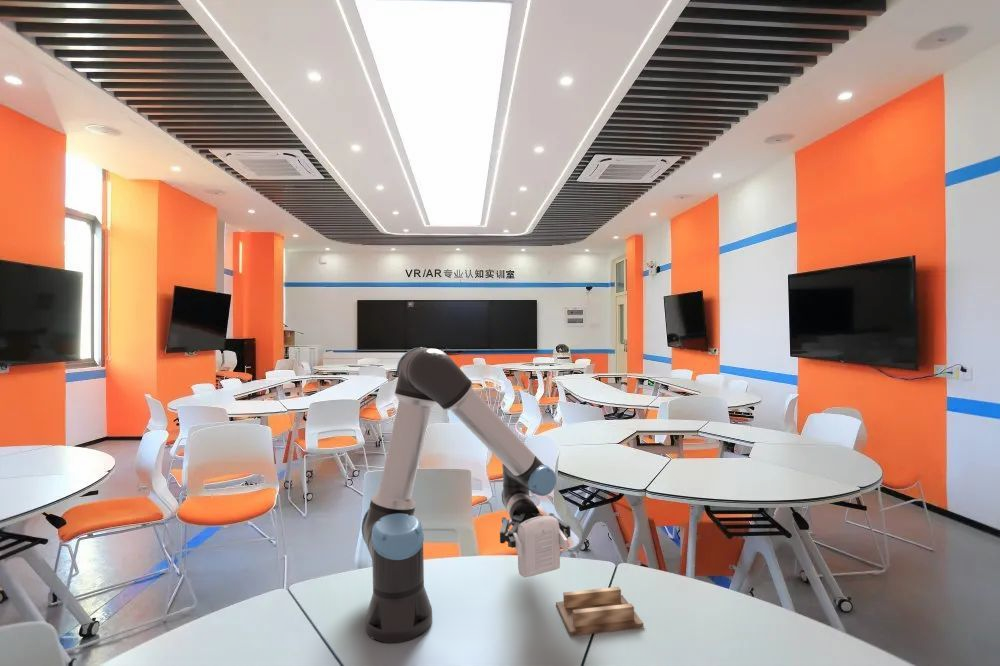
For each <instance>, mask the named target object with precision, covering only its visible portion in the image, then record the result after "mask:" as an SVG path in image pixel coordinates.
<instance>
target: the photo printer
mask: <svg viewBox="0 0 1000 666" xmlns="http://www.w3.org/2000/svg"><path fill="white" fill-rule="evenodd" d="M518 538H519V540H520V542H521V544H522V557H519V556H518V555H517V568H518V574H519V575H520V576H521V577H523V578H529V577H535V576H537V575H541V574H544V573H548V572H549V573H550V572H553V571H556V570H558V569H560V567H561V548H560V547H561V545H560V537H559V523H558V520H557V519H556V518H554V517H552V516H548V515H543V516H537V517H534V518H531V519H528V520H526V521H524V522H522V523H521V524H519V526H518Z"/></svg>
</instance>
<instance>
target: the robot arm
mask: <svg viewBox="0 0 1000 666" xmlns="http://www.w3.org/2000/svg"><path fill="white" fill-rule="evenodd" d="M396 376H397V382H396V387H395V391H394V395H395V397H396V398H397V401H398V405H397V409H396V413H395V417H394V421H393V426H392V431H391V436H390V441H389V445H388V450H387V452H386V453H387V454H386V458H385V463H384V466H383V473H382V476H381V481H380V485H379V490H378V491H377V492H376V494H373V496H371V498H370V503H369V506H368V509H367V510H366V512H365V514H364V515H363V518H362V522H361V535H362V538H363V541H364V543H365V544H366V547H367V550H368V553H369V556H370V557H371V558H370V559H371V563H372V566H371V567H372V595H371V599H370V602H369V605H368V609H367V611H366V612H367V613H366V615H365V630H366V634H367V635H368V634H369V635H370V636H371V637H373V638H374V639H373V638H372V639H373V640H375V639H376V640H375V641H377V640H378V642H380V641H382V643H388V644H389V643H391V644H393V643H394V644H395V643H402V642H406V641H410V640H413V639H416V638H418V637H420V636H421V635H422V634H424V633H425V632H426V631H427V630H428V629H429V628H430V626H431V625H432V622H433V609H432V608H433V607H432V605H431V602H430V599H429V596H428V594H427V593H428V592H427V590H426V588H425V576H424V575H425V573H424V572H425V570H424V566H425V565H424V563H425V562H424V561H425V560H424V540H425V538H424V530H423V524H422V522H421V521H420V520H419V518H417V517H416V516H414V515H415V511H416V505H417V503H416V502H415V500H414V499H413V492H414V488H415V483H416V482H415V481H416V477H417V475H418V474H417V473H418V470H419V463H420V460H421V455H422V451H423V446H424V441H425V437H426V433H427V428H428V427H427V426H428V422H429V419H430V413H431V411H432V410H431V408H432V407H433V406H435V405H436V404H438V405H439V406H440V407H441V408H442V409H443V410H445V411H449V410H450V411H451V413H453V414H454V415H455V417H456V418H457V419H458V420H460V422H462V424H463V425H464V426H465V427H466V428H467V429H469V430H470V432H471V433H472V434H473V435H474V436H475V437H476V438H477V439H478V440H479V441H480V442H481V443H482V444H483V446H485V447H486V448H487V450H489V452H491V453H492V455H493V456H495V457H496V458H497V459H498V461H499V462H501V463H502V490H501V503H502V504H503V506H504V508H505V509H506V512H507V513H508V516H509V518H507V517H504V516H502V517H501V526H500V529H499V543H500V544H505V543H506V542H507V546H508V547H509V548H511V549H512V548H514V549H515V552H516V553H517V554H516V555H517V557H518V556H519V557H522V544H521V542H520V540H519V538H518V526H519V524H521V523H522V522H524V521H526V520H528V519H531V518H534V517H537V516H544V515H543V514H541V512H540V510H539V509H538V507H537V505H536V504H535V502H534V500H533V499H532V498H531V496H530V492H531V493H532V494H534V495H537V496H540V497H545V496H548V495H550V494H551V493H552V492H553V491H554V490H555V488H556V485H557V475H556V473H555V471H554V470H553V469H552V468H551V467H549V466H548V465H546V464H544V463H543V461H541V460H540V459H539V457H537V456H536V455H535V454H534V453H533V452H532V451H531V449H529V447H528V446H527V445H526V444H525V443H524V442H523V441H522V440H521V439H520V438H519V437H518V436H517V434H516V433H515V432H514V431H513V430H512V429H511V428H510V426H508V425H507V424H506V422H504V420H503V419H502V418H501V417H500V416H499V415H498V414H497V413H496V412H495V411H494V410H493V408H491V406H489V405H488V403H486V401H485V400H484V399H483V398H482V397H481V396H480V395H479V394H478V393H477V391H475V389H473V382H472V381H471V379H469V377H468V376H467V375H466V374H465V373H464V372H463V370H462V369H461V368H460V367H459V366H458V364H457V363H456V362H455V361H454V360H453V359H452V358H451V357H450V356H449V355H448V354H447V353H446V352H444V351H442V350H441V349H437V348H427V347H422V346H420V347H414V348H412V349H410V350H408V351H407V352H405V353H404V354H403V355H402V356H401V357H400V359H399V360H398V363H397V366H396ZM547 516H552V517H554V518H556V519H557V520H558V523H559V537H560V547H561V549H562V550H563V552H564V553H569V538H570V537H571V525H570V524H568V523H566V522H565V521H564V520H561V518H559V517H556V515H555V514H554V513H552V512H551V513H549V514H548V515H547ZM510 527H511V528H510ZM369 635H368V636H369ZM370 636H369V637H370ZM371 637H370V638H371Z"/></svg>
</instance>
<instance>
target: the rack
mask: <svg viewBox="0 0 1000 666" xmlns="http://www.w3.org/2000/svg"><path fill="white" fill-rule="evenodd" d="M562 595H563V601H556V602H555V607H556V609H557V611H558V613H559V615H560V617H561V619H562V622H563V624H564V626H565V627H566V630H567V632H568V635H569V636H570V637H574V636H583V635H592V634H601V633H609V632H610V633H611V632H619V631H626V629H628V630H636V629H643V628H644V622H643V621H642V620H641V618H640V616H639V615H638V614H637V613H636V611H635V606H634V605H633V603H629V602H628V600H627V599H626V598H625V597H624V596H623V595H622V589H621V588H620V587H619V586H614V587H613V586H612V587H604V588H603V587H602V588H593V589H584V590H583V589H582V590H574V591H567V592H566V591H563V594H562ZM642 627H643V628H642ZM635 628H636V629H635Z"/></svg>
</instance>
